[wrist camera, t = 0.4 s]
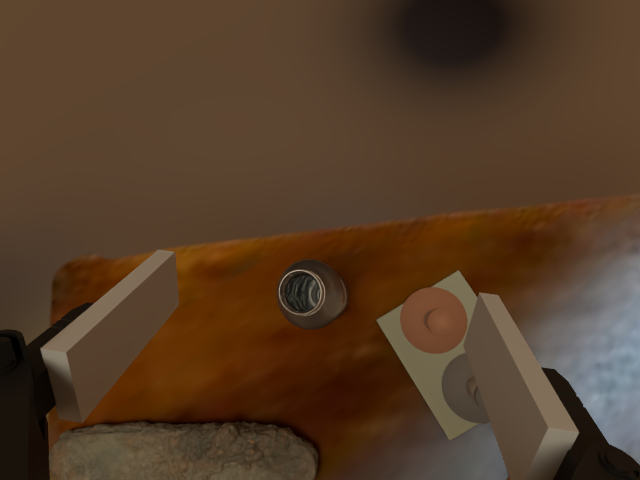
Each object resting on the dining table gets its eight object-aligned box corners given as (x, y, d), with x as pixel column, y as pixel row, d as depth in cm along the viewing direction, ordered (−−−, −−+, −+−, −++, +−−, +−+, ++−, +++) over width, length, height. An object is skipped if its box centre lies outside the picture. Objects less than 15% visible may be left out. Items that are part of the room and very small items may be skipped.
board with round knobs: (536, 389, 45) (565, 404, 39) (449, 441, 46) (464, 464, 39) (454, 267, 49) (468, 262, 42) (373, 316, 49) (375, 318, 42)
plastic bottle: (334, 261, 51) (315, 235, 31) (359, 306, 49) (355, 310, 30) (292, 284, 51) (246, 273, 31) (315, 330, 49) (283, 349, 30)
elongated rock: (72, 407, 53) (70, 483, 52) (38, 422, 48) (35, 506, 47) (318, 413, 48) (321, 498, 46) (310, 430, 42) (314, 526, 41)
